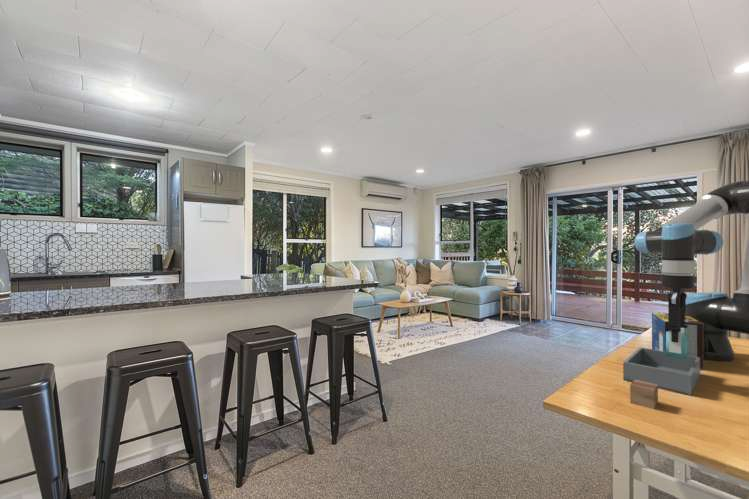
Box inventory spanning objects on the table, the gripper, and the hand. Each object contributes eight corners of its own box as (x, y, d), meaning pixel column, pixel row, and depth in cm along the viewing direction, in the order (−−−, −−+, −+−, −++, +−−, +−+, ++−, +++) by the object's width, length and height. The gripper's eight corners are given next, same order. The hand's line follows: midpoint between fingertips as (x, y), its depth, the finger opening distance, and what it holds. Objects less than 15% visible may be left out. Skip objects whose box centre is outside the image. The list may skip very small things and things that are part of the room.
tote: (639, 363, 123) (639, 347, 123) (700, 375, 112) (700, 357, 112) (623, 380, 109) (623, 362, 109) (690, 395, 97) (690, 375, 97)
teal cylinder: (691, 358, 105) (692, 335, 105) (676, 359, 105) (677, 335, 104) (675, 353, 110) (676, 331, 110) (661, 353, 110) (661, 331, 109)
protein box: (686, 355, 130) (686, 314, 130) (703, 369, 116) (704, 323, 116) (651, 352, 135) (651, 312, 134) (664, 365, 121) (664, 320, 120)
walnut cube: (634, 397, 97) (634, 379, 97) (657, 403, 93) (658, 384, 93) (630, 403, 94) (630, 384, 94) (653, 409, 90) (653, 390, 90)
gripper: (666, 271, 116) (666, 342, 116) (655, 275, 104) (655, 354, 104) (697, 273, 110) (697, 347, 111) (689, 277, 98) (688, 360, 98)
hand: (676, 350), depth 107 cm, fingers closed on teal cylinder, 5 cm apart
